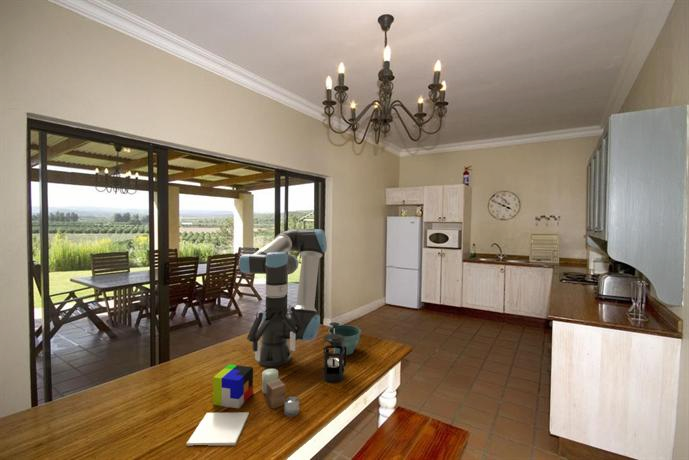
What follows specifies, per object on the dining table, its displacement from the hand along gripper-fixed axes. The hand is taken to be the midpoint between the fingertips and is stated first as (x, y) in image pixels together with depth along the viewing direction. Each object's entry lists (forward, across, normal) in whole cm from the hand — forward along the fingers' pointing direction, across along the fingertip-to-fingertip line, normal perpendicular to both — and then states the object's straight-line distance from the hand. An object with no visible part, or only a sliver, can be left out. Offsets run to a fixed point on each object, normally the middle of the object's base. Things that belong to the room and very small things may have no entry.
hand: (275, 354), depth 109 cm
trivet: (+18, -19, -2) cm, 27 cm away
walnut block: (+18, +1, 0) cm, 18 cm away
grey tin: (+18, +3, -8) cm, 20 cm away
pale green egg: (+18, +3, +10) cm, 20 cm away
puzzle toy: (+18, -10, +12) cm, 24 cm away
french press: (+18, +29, +2) cm, 34 cm away
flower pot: (+17, +48, +20) cm, 54 cm away
